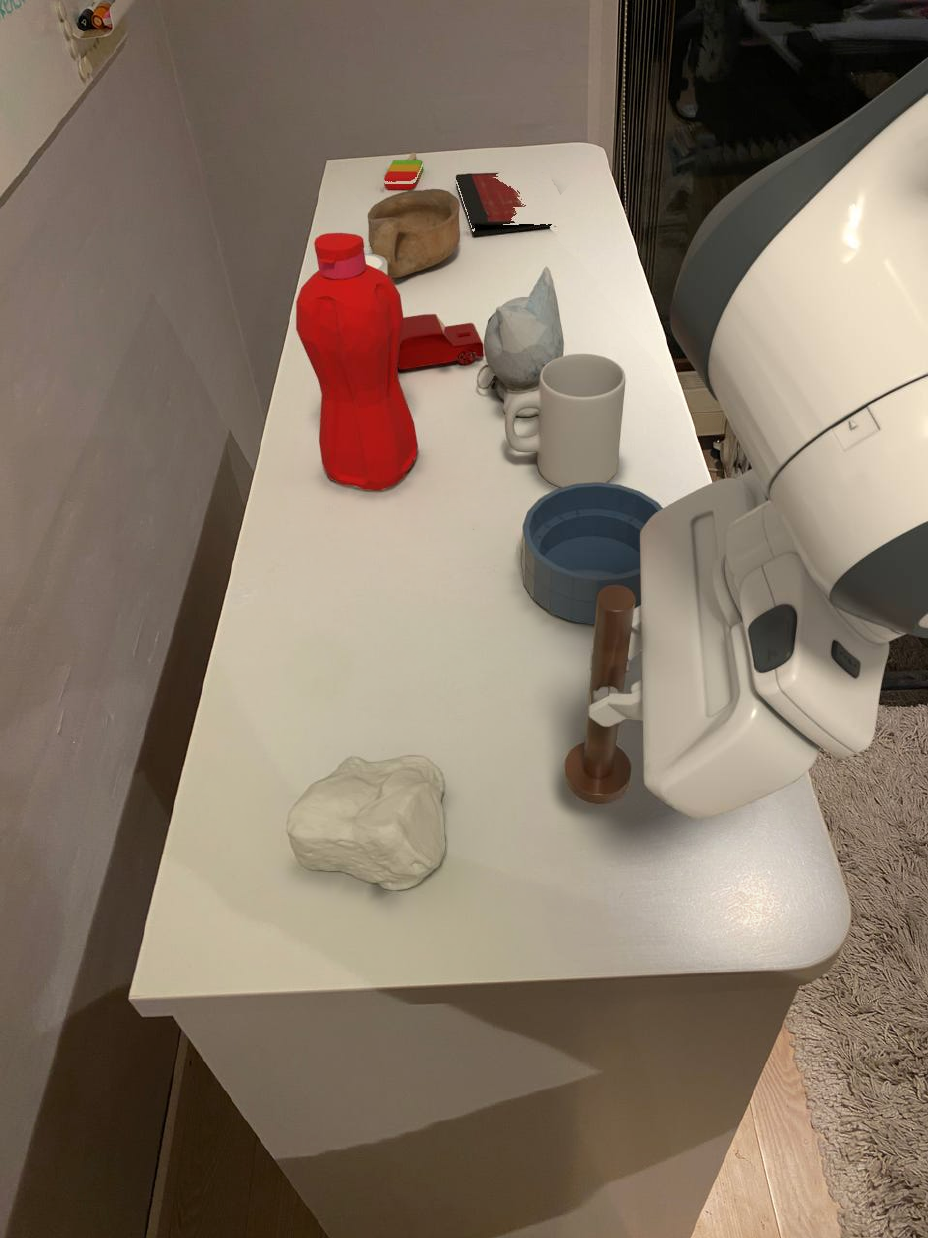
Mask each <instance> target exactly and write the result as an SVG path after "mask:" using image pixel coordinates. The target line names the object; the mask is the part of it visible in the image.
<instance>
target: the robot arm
mask: <svg viewBox="0 0 928 1238" xmlns="http://www.w3.org/2000/svg"><path fill="white" fill-rule="evenodd" d="M669 325H670V329H671V333H672V335H673V338H674V339H675V341H676V342H677V344H678V346H679V347H680V349H681V350H682V352H683V353H684V355H685V356H686V358H687V360H688V361H689V362H690V364H691V366H692V367H693V369H694V370H695V372H696V373H697V375H698V377H699V378H700V380H701V381H702V383H703V384H704V386H705V387H706V389H707V391H708V392H709V394H710V395H711V396H712V398H713V399H714V400H715V401H716V402H717V403H719V405H720V408H721V409H722V411H723V414H724V415H725V417H726V419H727V421H728V423H729V426H730V428H731V429H732V432H733V434H734V436H735V437H736V439H737V441H738V443H739V445H740V447H741V449H742V451H743V453H744V455H745V457H746V459H747V461H748V463H749V465H750V467H751V468H750V469H749V470H747V471H745V472H744V473H742V474H740V475H739V476H737V477H725V478H721V479H718V480H715V481H713V482H711V483H709V484H706V485H705V486H702V487H701V488H698V489H696V490H694V491H693V492H691V493H688V494H686V495H685V496H683V497H680V498H679V499H677V500H676V501H673V502H672V503H670V504H668V505H666V506H665V507H662V508H663V509H661V510H660V511H658V512H657V513H655V514H654V515H653V516H652V517H651V518H650V519H649V520H648V522H647V523H646V524H645V525H644V527H643V528H642V530H641V532H640V574H641V605H640V606H638V607H637V608H635V609H634V615H633V623H632V630H631V638H630V646H629V653H628V661H627V668H626V674H628V673H630V662H631V661H632V660H633V659H634V658H635V657H636V656H637V655H638V654H639V653H640V652H641V679H639V680H638V681H636V682H633V683H632V684H631V686H630V693H624V692H623V693H622V692H619V691H618V690H617V688H616V687H614V686H613V685H611V684H610V683H608V684H606V685H604V686H602V687H600V688H599V689H598V691H596V690H594V691H592V692H591V693H590V696H589V695H588V700H589V713H588V714H589V717H590V718H591V719H593V720H594V721H596V722H597V723H598V724H600V725H601V726H604V727H610V726H612V725H614V724H617V723H619V724H620V723H621V722H623V721H625V720H627V719H629V720H633V721H639V722H642V747H643V748H642V749H643V750H642V752H643V757H642V758H643V783H644V786H645V787H646V790H647V791H649V792H650V793H652V794H653V795H654V796H655V797H657V798H658V799H659V800H661V801H663V803H665V804H666V805H667V806H669V807H671V808H673V809H674V810H676V811H678V812H679V813H681V814H683V815H685V816H688V817H690V818H693V819H696V820H697V819H698V820H706V819H711V818H714V817H717V816H718V817H719V816H721V815H723V814H724V815H725V814H726V813H729V812H733V811H735V810H737V809H740V808H742V807H744V806H748V805H749V804H752V803H754V802H757V801H759V800H762V799H764V798H765V797H768V796H769V795H772V794H774V793H776V792H778V791H780V790H782V789H784V788H786V787H788V786H790V785H791V784H793V783H795V782H796V781H798V780H800V778H802V777H803V776H804V775H805V774H807V773H808V772H809V770H810V769H811V768H812V766H813V765H814V764H815V762H816V760H817V759H818V756H819V753H820V751H821V750H820V749H823V750H824V751H826V752H827V753H829V754H830V755H832V756H834V757H836V758H846V757H850V756H854V755H856V754H859V753H862V752H864V751H865V750H866V749H868V748H869V747H870V746H871V744H872V743H873V740H874V738H875V734H876V728H877V721H878V720H877V719H878V710H879V704H880V703H879V702H880V695H881V689H882V682H883V678H884V673H885V669H886V664H887V662H888V657H889V653H890V642H892V641H893V640H896V639H898V638H901V637H903V636H905V635H910V636H914V637H916V638H922V639H928V57H926V58H925V59H924V60H922V61H921V62H919V63H918V64H917V65H916V66H914V68H912V69H911V70H909V72H907V73H906V74H904V75H903V76H902V77H901V78H899V79H898V80H896V82H894V83H893V84H891V85H890V86H888V88H886V89H885V90H884V91H883V92H881V93H880V94H879V95H876V97H874V98H873V99H872V100H870V101H869V102H868V103H866V104H865V105H864V106H862V107H861V108H859V109H858V110H857V111H856V112H854V113H853V114H851V115H850V116H848V117H847V118H845V119H844V120H843V121H841V122H839V123H838V124H836V125H834V126H832V127H831V128H830V129H828V130H826V131H825V132H822V133H821V134H819V135H818V136H816V137H814V138H812V139H811V140H809V141H808V142H806V143H804V144H802V145H801V146H799V147H797V148H796V149H794V150H792V151H790V152H788V153H787V154H785V155H783V156H782V157H780V158H779V159H778V158H777V160H775V161H773V162H772V163H770V164H768V165H767V166H766V167H764V168H762V169H760V170H759V171H758V172H756V173H755V174H753V175H752V176H750V177H748V178H747V179H746V180H745V181H743V182H741V183H740V184H739V185H738V186H736V187H735V188H734V189H733V190H731V191H730V192H729V193H728V194H727V195H726V196H724V197H723V198H722V199H721V200H720V201H718V203H717V204H716V205H715V206H714V207H713V208H712V210H710V212H709V213H708V214H707V216H706V217H705V218H704V219H703V221H702V223H700V226H699V227H698V230H697V231H696V233H695V234H694V236H693V238H692V240H691V242H690V244H689V247H688V249H687V251H686V254H685V256H684V259H683V261H682V264H681V267H680V271H679V273H678V276H677V279H676V283H675V287H674V291H673V295H672V300H671V304H670V309H669ZM592 653H593V647H592V648H591V650H590V658H589V659H590V662H589V663H590V665H589V671H591V665H592Z"/></svg>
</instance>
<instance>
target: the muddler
mask: <svg viewBox="0 0 928 1238" xmlns="http://www.w3.org/2000/svg"><path fill="white" fill-rule="evenodd" d="M634 608H635V596H634V594H633V592H632V591H631V590H629V589H628V588H626V587H624V586H620V585H611V586H607V587H605V588H603V589H602V590H601V591H600V592H599V594H598V596H597V607H596V618H595V624H594V630H593V642H592V648H593V653H592V665H591V670H590V677H589V688H588V689H589V691H588V697H589V696H590V693H591V692H592V691H594V690H596V691H598V689H599V688H600V687H602V686H604V685H606V684H608V683H610V684H611V685H613V686H614V687H616V688H617V690H618V691H619V692H622V693H624V691H625V683H626V675H627V673H626V668H627V661H628V653H629V646H630V638H631V630H632V623H633V615H634ZM588 713H589V699H588V702H587V712H586V722H585V723H586V725H585V735H584V736H585V737H584V740H583V741H581V742H579V743H577V744H576V745H574V746H573V747H572V748H571V749H570V750H569V751H568V753H567V755H566V757H565V760H564V769H563V777H564V782H565V785H566V787H567V789H568V790H569V792H570V793H571V794H572V795H573V796H574V797H575V798H577V799H579V800H580V801H583V802H585V803H587V804H591V805H599V806H600V805H601V806H602V805H607V804H612V803H614V802H616V801H618V800H620V799H621V798H622V797H623V796H624V795H625V794H626V793H627V791H628V790H629V787H630V784H631V779H632V762H631V760H630V758H629V756H628V754H627V753H626V751H624V750H623V749H622V748H621V747H620V746H619V745H618V735H619V728H620V722H619V723H617V724H614V725H612V726H610V727H604V726H601V725H600V724H598V723H597V722H596V721H594V720H593V719H591V718H590V717H589V714H588Z"/></svg>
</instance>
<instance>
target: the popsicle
mask: <svg viewBox="0 0 928 1238" xmlns="http://www.w3.org/2000/svg"><path fill="white" fill-rule="evenodd" d="M416 156H417V152H411V153H410V154H409V156H408V158H407V159H393V160H392V161H391V163H390V165H389V167H388V169H387V172H386V173H385V175H384V178H383V181H384V180H385V181H388V182H389V181H390V182H391V181H392V182H396V181H411V180H413V179H415V177H417V174H418V172H419V170H420V168H421V165H422V163H423V164H424V162H423V160H422V159H415V158H416ZM423 171H424V166H423V167H422V169H421V171H420V173H419V175H418V178H417V180H416V182H415V183H413V184H385V183H384V182H383V184H384V185H383V186H384V187H385V189H386V190H389V191H390V190H391V191H409V190H415V188H416V187H417V184H418V182H419V181H420V178H421V176H422V173H423Z"/></svg>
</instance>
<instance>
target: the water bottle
mask: <svg viewBox="0 0 928 1238" xmlns="http://www.w3.org/2000/svg"><path fill="white" fill-rule="evenodd" d="M313 246H314V251H315V254H316V261H317V266H318V270H317V271H316V272H314V273H313V274H312V275H311V276H310V277H309V278H308V279H307V281H305V283H304V284H303V285H302V286H301V288H300V290H299V293H298V296H297V299H296V301H295V330H296V333H297V335H298V338H299V339H300V342H301V344H302V346H303V349H304V351H305V353H306V355H307V358H308V360H309V362H310V365H311V367H312V369H313V372H314V373H315V376H316V378H317V380H318V386H319V389H320V393H321V400H320V414H319V431H318V445H319V452H320V458H321V463H322V466H323V468H324V471H325V473H326V475H327V476H328V478H329V479H330V480H332V481H334V482H336V483H338V484H340V485H342V486H349V487H350V486H352V487H357V488H359V489H362V490H365V491H377V492H379V491H382V490H385V489H388V488H391V487H394V486H395V485H397V484H398V483H399V482H401V481H402V480H403V479H404V478H405V477H406V475H407V473H408V472H409V470H410V468H411V467H412V466H414V464H415V460H416V456H417V452H418V446H419V444H418V437H417V431H416V426H415V425H416V424H415V421H414V419H413V418H414V417H413V416H412V413H411V410H410V407H409V404H408V402H407V399H406V396H405V393H404V391H403V388H402V386H401V382H400V380H399V370H398V369H399V368H398V365H397V364H398V356H399V349H400V342H401V334H402V327H403V320H404V312H403V305H402V298H401V293H400V292H399V290H398V288H397V286H396V285H395V283H394V281H393V279H392V277H389V276H388V275H386V274H385V273H384V272H383V271H381V270H378V269H376V268H374V267H372V266H370V265H367V264H366V260H365V254H366V253H365V242H364V238H363V237H362V236H361V235H358V234H356V233H355V234H354V233H348V232H328V233H322V234H320V235H319V236H317V237H316V238H315V239H314V243H313Z"/></svg>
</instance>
